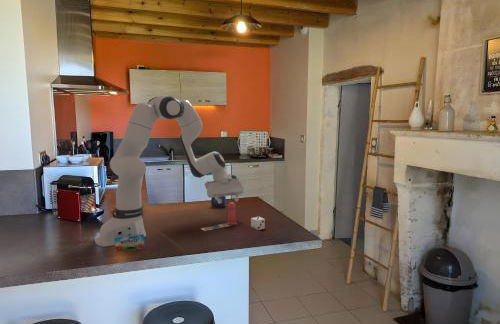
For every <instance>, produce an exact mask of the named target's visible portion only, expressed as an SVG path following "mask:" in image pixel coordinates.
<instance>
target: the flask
mask: <svg viewBox="0 0 500 324" xmlns="http://www.w3.org/2000/svg"><path fill="white" fill-rule="evenodd" d="M218 198H219V199H221V201H222V203H218V201H217V200H216V199H215V197H211V199H210V201H211V203H210V204H211V205H210V206H211V207H213V208H226V207H227V196H221V197H218Z"/></svg>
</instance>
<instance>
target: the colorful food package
mask: <svg viewBox="0 0 500 324" xmlns="http://www.w3.org/2000/svg"><path fill="white" fill-rule="evenodd" d="M114 242H115V245H114V252H115V253H117V252H127V251H136V250H145V246H146V243H145V237H144V234H139V235H128V236H118V237H115V238H114Z"/></svg>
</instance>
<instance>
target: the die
mask: <svg viewBox="0 0 500 324" xmlns="http://www.w3.org/2000/svg"><path fill="white" fill-rule="evenodd" d="M265 222H266V220H265V218H263V217H261V216H256V217H251V218H250V227H251V228H252V229H255V230H256V231H259V230H264V229H265V227H266V225H265Z"/></svg>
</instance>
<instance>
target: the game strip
mask: <svg viewBox="0 0 500 324" xmlns="http://www.w3.org/2000/svg"><path fill="white" fill-rule="evenodd" d="M236 225H238V222H236V224H235V225H234V226H236ZM230 226H232V225H228V224H227V222H226V223H221V224H216V225H212V226H205V227H202V228H200V230H202V231H204V232H207V231H212V230H216V229H221V228H222V229H223V228H227V227H230Z"/></svg>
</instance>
